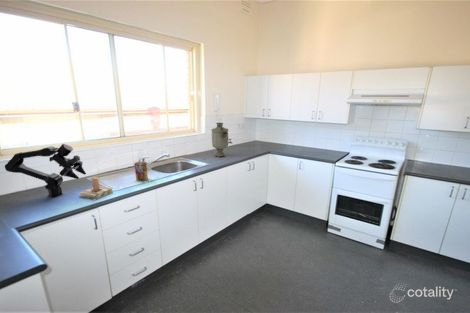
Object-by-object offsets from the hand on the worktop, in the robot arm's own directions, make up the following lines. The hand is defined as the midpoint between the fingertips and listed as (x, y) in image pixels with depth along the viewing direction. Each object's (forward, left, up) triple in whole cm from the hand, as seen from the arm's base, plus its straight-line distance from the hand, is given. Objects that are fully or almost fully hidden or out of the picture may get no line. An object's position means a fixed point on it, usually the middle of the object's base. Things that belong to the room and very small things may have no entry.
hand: (82, 176), depth 160 cm
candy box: (+41, -13, -14) cm, 45 cm away
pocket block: (+4, -7, -14) cm, 16 cm away
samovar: (+144, -40, -14) cm, 150 cm away
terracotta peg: (+4, -7, -14) cm, 16 cm away
